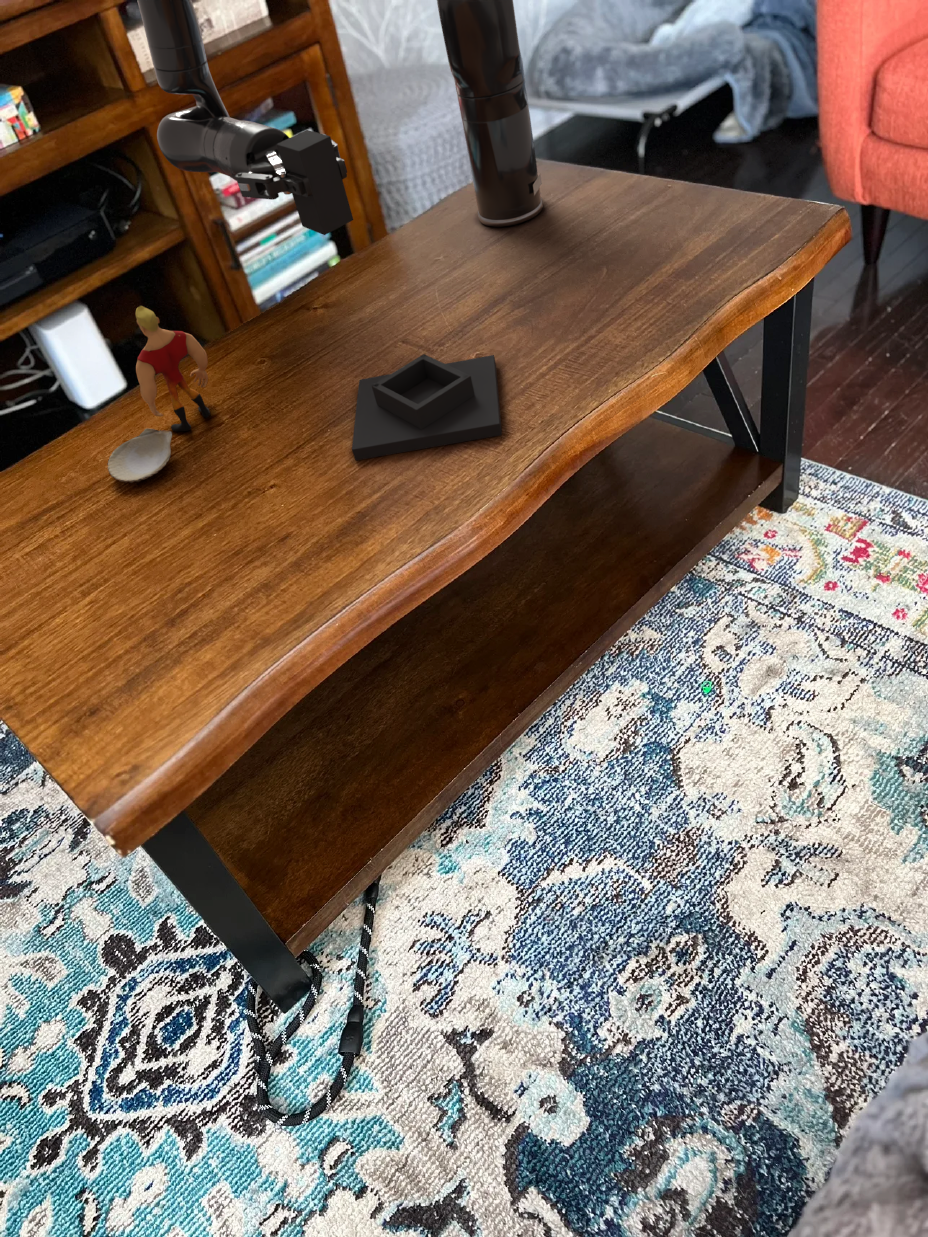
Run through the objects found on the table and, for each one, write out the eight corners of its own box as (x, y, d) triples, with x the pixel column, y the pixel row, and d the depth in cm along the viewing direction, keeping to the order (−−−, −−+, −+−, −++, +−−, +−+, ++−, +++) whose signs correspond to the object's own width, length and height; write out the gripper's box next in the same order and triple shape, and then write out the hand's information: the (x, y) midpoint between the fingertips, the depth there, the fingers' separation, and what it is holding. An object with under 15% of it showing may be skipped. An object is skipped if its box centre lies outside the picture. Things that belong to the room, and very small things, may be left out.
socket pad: (362, 390, 113) (353, 360, 110) (496, 365, 111) (490, 334, 108) (355, 460, 103) (345, 430, 100) (502, 435, 101) (495, 403, 98)
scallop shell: (113, 492, 111) (151, 493, 106) (94, 473, 109) (132, 473, 104) (154, 441, 115) (193, 439, 110) (136, 422, 113) (175, 420, 108)
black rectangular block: (302, 226, 120) (276, 143, 113) (331, 211, 122) (306, 129, 115) (324, 235, 117) (299, 150, 110) (353, 219, 118) (330, 135, 111)
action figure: (214, 397, 119) (164, 283, 108) (231, 404, 117) (183, 289, 106) (154, 438, 114) (96, 325, 104) (171, 446, 112) (114, 331, 102)
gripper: (196, 146, 119) (265, 170, 108) (290, 103, 124) (365, 122, 113) (218, 206, 124) (286, 234, 113) (308, 162, 129) (381, 185, 118)
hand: (325, 178), depth 113 cm, fingers closed on black rectangular block, 4 cm apart
